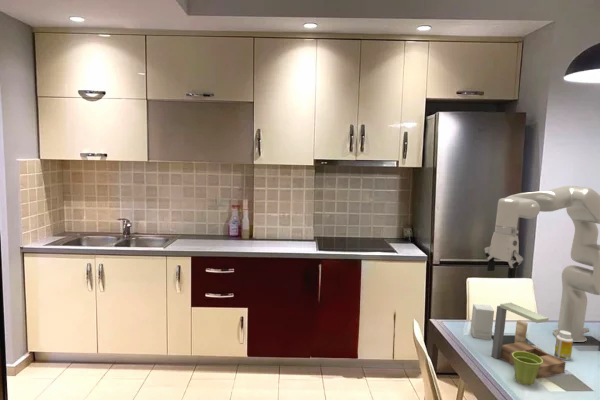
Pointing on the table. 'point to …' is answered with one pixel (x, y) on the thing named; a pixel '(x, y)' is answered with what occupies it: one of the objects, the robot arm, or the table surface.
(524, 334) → the peg
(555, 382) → the table surface
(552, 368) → the socket block
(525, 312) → the awning
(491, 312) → the supplement box
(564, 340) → the supplement bottle
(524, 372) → the plant pot
